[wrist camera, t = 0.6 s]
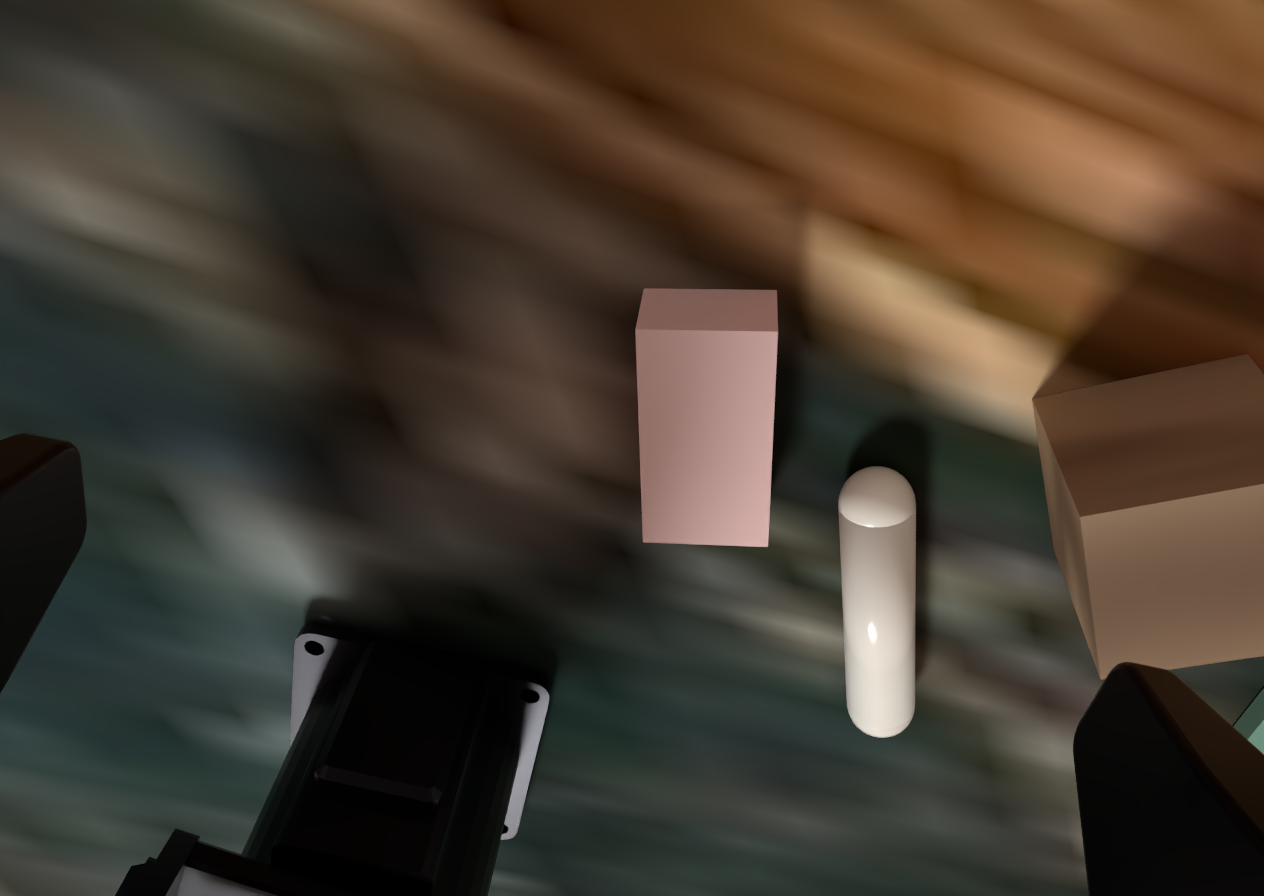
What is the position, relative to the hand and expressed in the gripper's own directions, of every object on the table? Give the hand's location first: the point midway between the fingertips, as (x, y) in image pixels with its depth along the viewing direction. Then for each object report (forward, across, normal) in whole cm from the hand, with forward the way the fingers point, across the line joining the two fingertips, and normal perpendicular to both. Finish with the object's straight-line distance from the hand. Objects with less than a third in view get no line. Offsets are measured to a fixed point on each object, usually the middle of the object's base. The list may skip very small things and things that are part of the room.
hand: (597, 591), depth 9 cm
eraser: (+13, -2, +5) cm, 14 cm away
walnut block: (+12, -11, +4) cm, 17 cm away
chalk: (+13, -7, +9) cm, 17 cm away
